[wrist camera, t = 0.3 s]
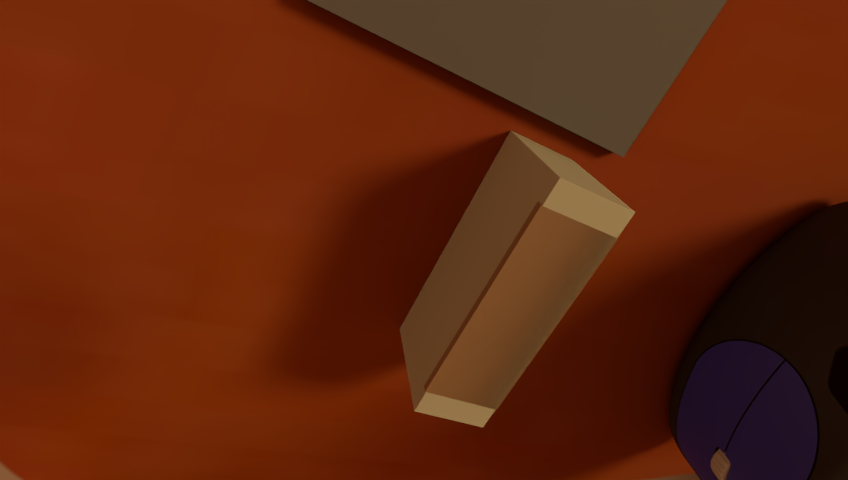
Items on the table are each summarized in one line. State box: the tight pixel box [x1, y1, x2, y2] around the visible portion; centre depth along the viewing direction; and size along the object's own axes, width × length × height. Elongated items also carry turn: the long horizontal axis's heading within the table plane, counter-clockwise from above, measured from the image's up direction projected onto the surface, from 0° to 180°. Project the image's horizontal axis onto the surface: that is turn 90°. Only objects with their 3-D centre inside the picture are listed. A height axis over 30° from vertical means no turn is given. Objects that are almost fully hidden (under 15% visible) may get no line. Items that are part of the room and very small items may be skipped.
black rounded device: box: [670, 201, 848, 480], centre depth 22 cm, size 16×5×9 cm, turn 164°
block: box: [400, 131, 635, 427], centre depth 20 cm, size 3×10×5 cm, turn 154°
